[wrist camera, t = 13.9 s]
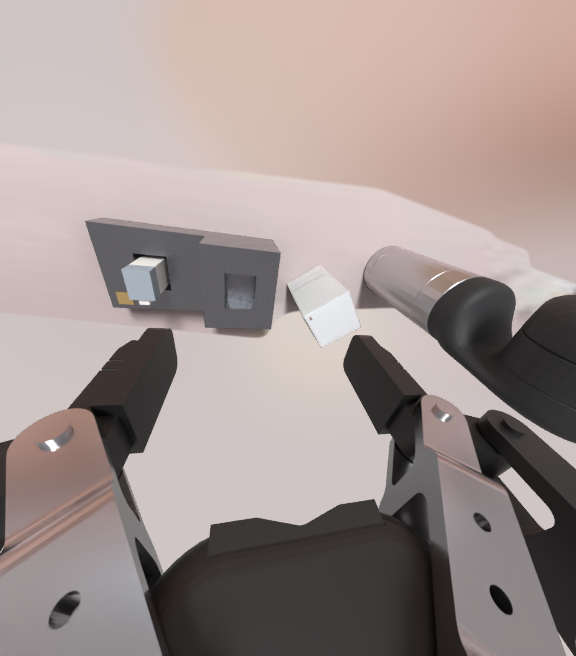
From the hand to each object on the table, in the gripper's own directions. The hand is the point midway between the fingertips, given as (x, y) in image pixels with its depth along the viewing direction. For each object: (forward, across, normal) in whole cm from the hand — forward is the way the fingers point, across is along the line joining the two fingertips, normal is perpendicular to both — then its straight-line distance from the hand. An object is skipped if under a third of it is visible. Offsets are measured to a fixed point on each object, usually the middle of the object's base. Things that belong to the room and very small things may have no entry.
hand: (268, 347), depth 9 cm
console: (+29, +9, +6) cm, 31 cm away
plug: (+28, +14, +6) cm, 32 cm away
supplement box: (+30, -12, +8) cm, 33 cm away
